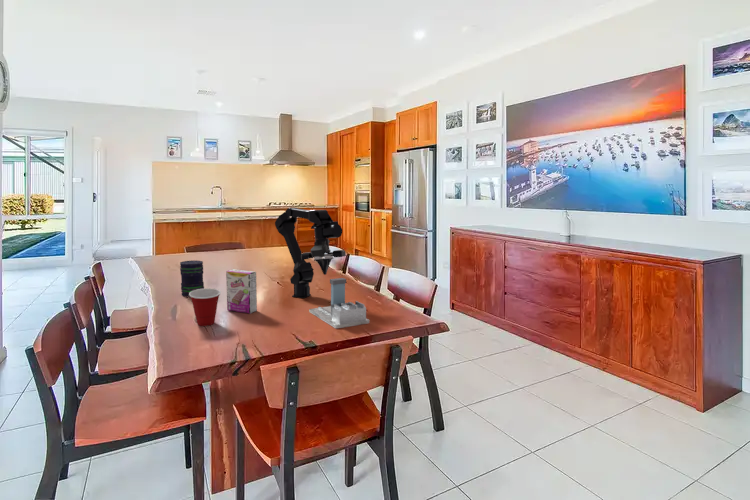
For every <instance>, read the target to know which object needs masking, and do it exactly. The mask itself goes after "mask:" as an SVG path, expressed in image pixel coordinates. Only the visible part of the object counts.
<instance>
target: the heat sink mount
mask: <svg viewBox="0 0 750 500" xmlns="http://www.w3.org/2000/svg"><path fill="white" fill-rule="evenodd" d="M308 310H309V311H308V312H309V313H310V314H312V315H314V316H315V317H316V318H318V319H320V320H321V321H323V322H325V323H326V324H328V325H330V326H331V327H332V328H334V329H343V328H349V327H354V326H361V325H366V324H370V319H369V318H367V307H366V306H365V303H362V302H359V301H358V300H355V301H354V302H352V301H348V302H345V303H340V304H333V305H331V304H330V305H329V306H323V307H321V306H318V307H315V308H309V309H308Z"/></svg>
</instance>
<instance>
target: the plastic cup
mask: <svg viewBox="0 0 750 500" xmlns="http://www.w3.org/2000/svg"><path fill="white" fill-rule="evenodd" d="M221 292H222V291H221V290H220V289H217V288H208V287H207V288H205V287H204V289H197V290H193V291H191V292H189V296H190V297H189V298H190V300H191V303H192V307H193V311H194V316H195V319H196V323H197V326H200V327H205V326H206V327H208V326H212V325H214V324H215V321H216V314H217V309H218V303H219V299H220V295H221ZM207 325H208V326H207Z"/></svg>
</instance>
